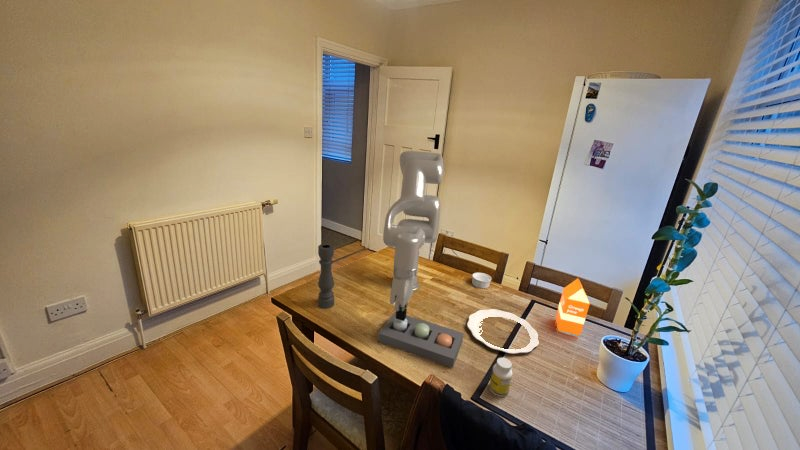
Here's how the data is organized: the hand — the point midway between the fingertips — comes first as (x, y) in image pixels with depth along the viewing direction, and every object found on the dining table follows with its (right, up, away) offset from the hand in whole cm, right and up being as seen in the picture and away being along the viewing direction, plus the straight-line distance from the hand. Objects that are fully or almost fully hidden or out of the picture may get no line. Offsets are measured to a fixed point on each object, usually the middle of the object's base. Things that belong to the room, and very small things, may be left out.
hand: (400, 318), depth 108 cm
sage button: (+7, -5, -1) cm, 9 cm away
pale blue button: (0, -4, +2) cm, 4 cm away
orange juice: (+64, -8, +13) cm, 66 cm away
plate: (+37, -8, +8) cm, 39 cm away
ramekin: (+38, +4, +41) cm, 56 cm away
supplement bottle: (+28, -15, -18) cm, 37 cm away
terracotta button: (+14, -8, -4) cm, 17 cm away
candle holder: (-30, +1, +16) cm, 34 cm away
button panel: (+7, -8, 0) cm, 10 cm away
